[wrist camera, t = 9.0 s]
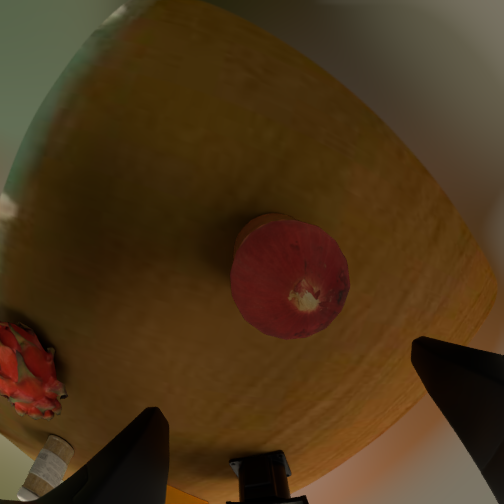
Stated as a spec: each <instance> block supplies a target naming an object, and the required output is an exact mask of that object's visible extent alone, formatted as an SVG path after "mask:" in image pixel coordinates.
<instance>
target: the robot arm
mask: <svg viewBox="0 0 504 504" xmlns="http://www.w3.org/2000/svg"><path fill="white" fill-rule="evenodd" d="M411 362H412V364H413V366H414V368H415V370H416V372H417V373H418V375H419V377H420V379H421V381H422V382H423V384H424V386H425V388H426V390H427V391H428V393H429V395H430V396H431V397H432V399H433V400H434V402H435V403H436V405H437V406H438V408H439V409H440V410H441V412H442V413H443V415H444V416H445V418H446V419H447V420H448V422H449V424H450V425H451V427H452V428H453V429H454V431H455V432H456V434H457V435H458V437H459V438H460V440H461V442H462V443H463V444H464V446H465V448H466V449H467V451H468V452H469V454H470V455H471V457H472V459H473V460H474V462H475V463H476V465H477V467H478V468H479V470H480V471H481V474H482V475H483V477H484V479H485V480H486V482H487V484H488V486H489V487H490V489H491V491H492V493H493V494H494V496H495V498H496V500H497V502H498V503H499V504H504V355H501V354H496V353H492V352H487V351H483V350H478V349H474V348H470V347H466V346H461V345H457V344H453V343H449V342H445V341H441V340H437V339H433V338H429V337H425V336H421V337H419V338H417V339H415V340H413V342H412V350H411ZM229 465H230V466H231V468H232V469H233V471H234V472H235V474H236V475H237V477H238V478H239V499H240V502H231V501H226V504H309V503H308V501H307V498H306V495H303V496H300V497H294V498H291V496H290V491H289V486H288V480H287V477H289V476H291V471H290V468H289V466H288V463H287V460H286V457H285V455H284V452H281V451H280V452H275V453H270V454H264V455H259V456H253V457H247V458H240V459H233V460H230V461H229ZM168 470H169V424H168V421H167V420H166V418H165V417H164V415H163V413H162V412H161V410H160V409H159V408H158V407H147V408H146V409H144V410H143V411H142V412H141V413H140V414H139V415H138V416H137V417H136V418H135V419H134V420H133V421H132V422H131V423H130V424H129V425H128V426H127V427H126V428H124V429H123V430H122V431H121V432H120V433H119V434H118V435H117V436H116V437H115V438H114V439H113V440H112V441H110V442H109V443H108V444H107V445H106V446H105V447H104V448H103V449H102V450H101V451H99V452H98V453H97V454H96V455H95V456H94V457H93V458H92V459H91V460H89V461H88V462H87V464H85V465H84V466H83V467H81V468H80V469H79V470H78V471H77V472H76V473H74V474H73V475H72V476H71V477H69V478H68V479H67V480H65V481H64V482H63V483H61V484H60V485H58V486H57V487H55V488H54V489H52V490H51V491H49V492H48V493H46V494H45V495H43V496H42V497H40V498H38V499H36V500H32V501H12V500H1V499H0V504H165V501H166V490H167V480H168Z"/></svg>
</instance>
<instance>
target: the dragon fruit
mask: <svg viewBox="0 0 504 504" xmlns="http://www.w3.org/2000/svg"><path fill="white" fill-rule="evenodd" d="M17 323H18V324H19V326H20V327H21V328H20V327H18V326H16V325H15V324H12V323H9V322H8V323H6V322H1V321H0V395H1V396H3V397H5V398H8V401H10V402H11V406H13V405H14V406H15V409H16V412H17V413H18V414H19V415H20V416H22V417H23V416H24V414H25V415H26V414H28V416H30V417H32V418H33V419H35V420H37V419H40V418H43V419H46V420H48V421H49V420H51V419H52V418H53V416H54V413H56V414H57V415H59V414H60V412H61V409H62V407H61V404H60V402H59V401H58V400H57V398H56V397H57V396H59V395H61V398H60V399H65V398H66V397H68V395H67V392H66V389H65V384H63V383H61V382H60V381H58V380H57V377H56V370H55V365H54V361H53V359H54V353H56V351H55V350H54V349H53V348H52V347H51V348H47V351H48V352H46V351H45V350H44V349H43V347H42V345H41V344H40V342H39V340H38V339H37V336H36V334H35V333H34V331H33V330H32V329H31V328H29V327H28V326H26V325H24V324H22V323H21V322H17Z"/></svg>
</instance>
